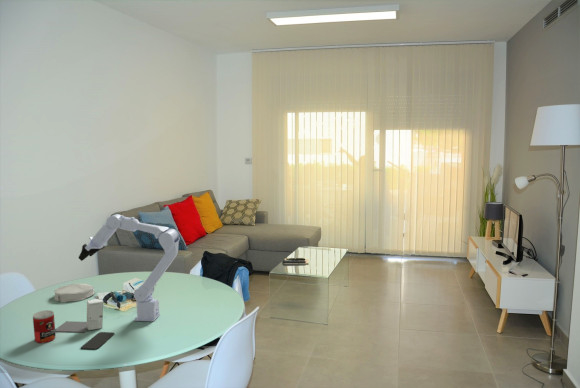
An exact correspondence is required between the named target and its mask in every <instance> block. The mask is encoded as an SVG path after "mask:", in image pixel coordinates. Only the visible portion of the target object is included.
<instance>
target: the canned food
mask: <svg viewBox="0 0 580 388" xmlns="http://www.w3.org/2000/svg"><path fill="white" fill-rule="evenodd" d="M32 324H33V325H32V326H33V334H34V340H35V342H36V343H37V344H44V343H45V344H46V343H49V342H52V341H53V340H55V338H56V332H55V329H56V326H55V325H56V321H55V313H54V310H39V311H38V312H35V313H33V314H32Z"/></svg>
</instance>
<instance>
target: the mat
mask: <svg viewBox="0 0 580 388" xmlns="http://www.w3.org/2000/svg"><path fill="white" fill-rule="evenodd" d="M87 331H89V330H88V329H87V321H74V320H73V321H68V320H67V321H65V322H63V323H62V324H61V325H59V326H58V327H57V328H56V327H55V333H78V334H79V333H80V334H81V333H86V332H87Z"/></svg>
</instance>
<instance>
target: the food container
mask: <svg viewBox="0 0 580 388" xmlns="http://www.w3.org/2000/svg"><path fill="white" fill-rule="evenodd" d="M95 293H96V292H95V289H94V286H93V285H90V284H87V283H72V284H66V285H63V286H59V287H58V288H56V289H55V290H54V298H53V299H54V300H55V301H56V302H61V303H67V302H77V301H78V302H79V301H82V300H85V299H88V298H89V297H91V296H93V295H94V294H95Z"/></svg>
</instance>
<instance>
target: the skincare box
mask: <svg viewBox="0 0 580 388" xmlns="http://www.w3.org/2000/svg"><path fill="white" fill-rule="evenodd" d="M86 302H87V303H86V322H87V329H88V330H87V331H92V330H98V329H103V325H104V323H103V320H104V317H103V316H104V300H102V298H94V299H87V300H86Z"/></svg>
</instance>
